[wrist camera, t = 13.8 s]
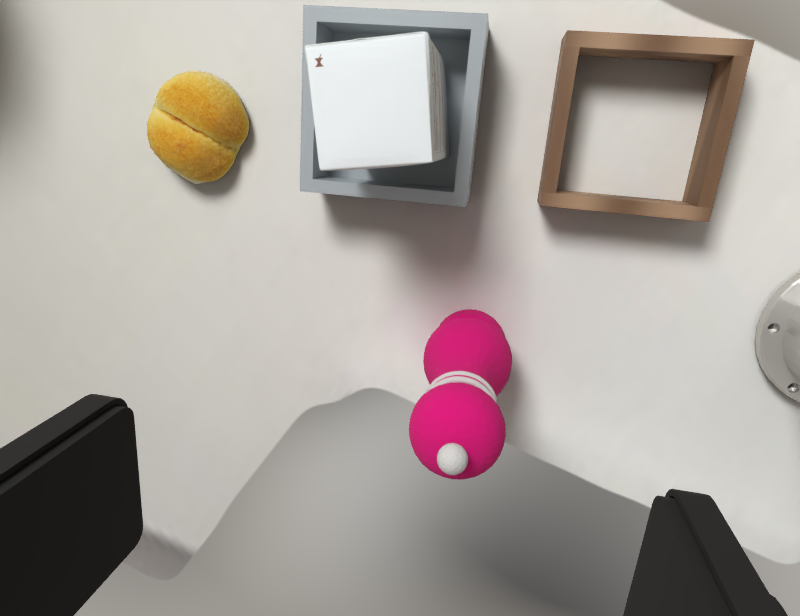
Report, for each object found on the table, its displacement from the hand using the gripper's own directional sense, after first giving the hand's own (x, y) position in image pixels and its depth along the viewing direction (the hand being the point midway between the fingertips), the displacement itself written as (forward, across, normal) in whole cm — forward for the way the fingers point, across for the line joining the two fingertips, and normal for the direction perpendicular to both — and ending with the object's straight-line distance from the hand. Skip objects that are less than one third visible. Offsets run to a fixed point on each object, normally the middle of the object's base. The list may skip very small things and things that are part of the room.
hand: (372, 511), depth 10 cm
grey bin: (+38, +7, -8) cm, 40 cm away
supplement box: (+38, +6, -8) cm, 39 cm away
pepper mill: (+38, -1, +11) cm, 40 cm away
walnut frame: (+38, -11, -8) cm, 41 cm away
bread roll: (+39, +24, -5) cm, 46 cm away
